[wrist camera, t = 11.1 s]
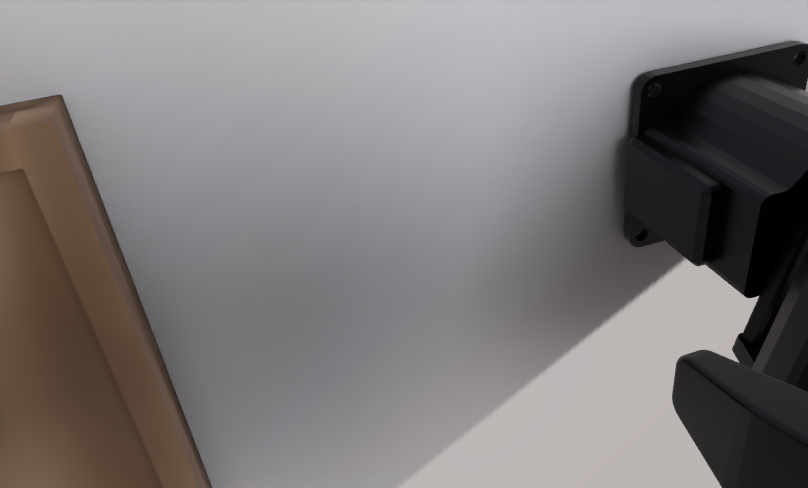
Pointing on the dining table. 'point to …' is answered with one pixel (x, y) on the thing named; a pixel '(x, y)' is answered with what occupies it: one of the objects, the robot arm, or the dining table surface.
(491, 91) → the dining table surface
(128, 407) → the walnut tray
